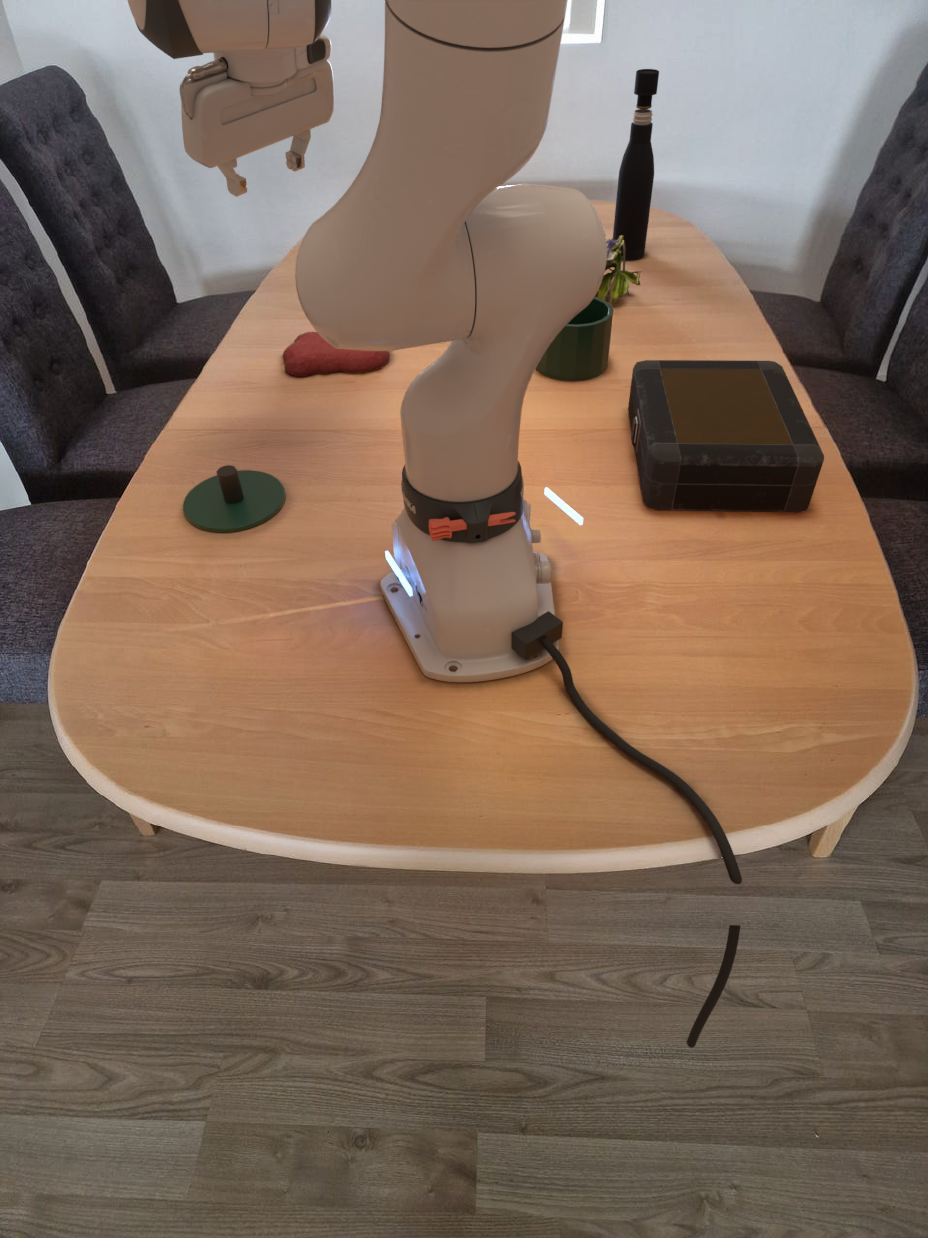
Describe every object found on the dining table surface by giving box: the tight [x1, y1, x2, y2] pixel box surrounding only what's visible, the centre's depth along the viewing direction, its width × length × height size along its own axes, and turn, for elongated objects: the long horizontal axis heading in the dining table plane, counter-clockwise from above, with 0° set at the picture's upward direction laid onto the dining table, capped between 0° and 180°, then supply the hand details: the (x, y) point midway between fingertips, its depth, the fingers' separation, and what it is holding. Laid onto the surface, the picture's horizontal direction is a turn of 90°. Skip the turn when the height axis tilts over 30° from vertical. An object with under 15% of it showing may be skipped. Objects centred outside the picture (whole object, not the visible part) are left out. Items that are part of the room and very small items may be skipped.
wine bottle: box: [612, 68, 660, 261], centre depth 147 cm, size 6×6×30 cm
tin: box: [535, 296, 614, 382], centre depth 122 cm, size 11×11×8 cm
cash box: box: [627, 359, 825, 514], centre depth 102 cm, size 25×20×8 cm
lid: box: [182, 464, 287, 534], centre depth 98 cm, size 12×12×5 cm
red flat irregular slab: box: [282, 331, 391, 377], centre depth 128 cm, size 18×14×2 cm
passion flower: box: [597, 235, 643, 305], centre depth 141 cm, size 11×11×12 cm
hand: (267, 180), depth 98 cm, fingers open, 8 cm apart
